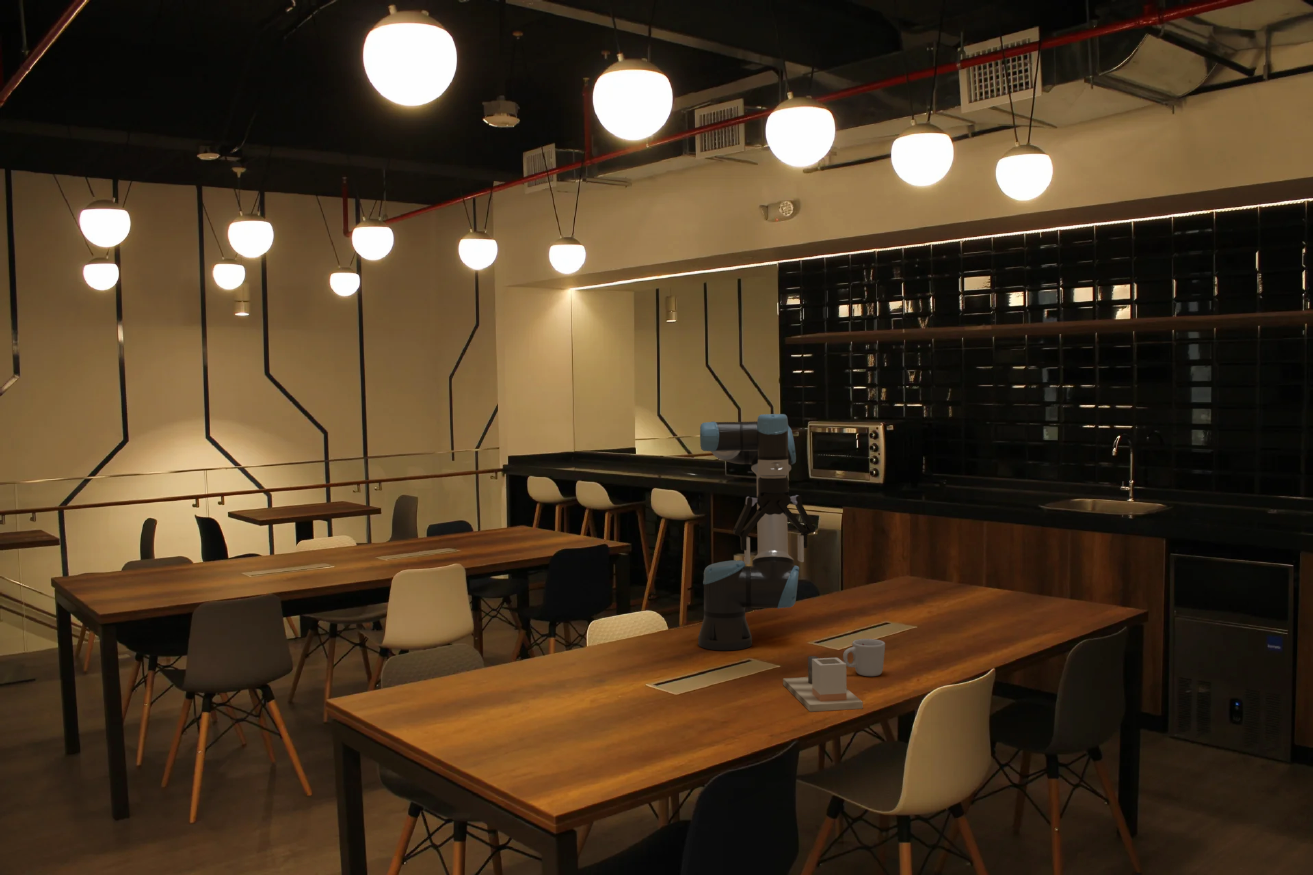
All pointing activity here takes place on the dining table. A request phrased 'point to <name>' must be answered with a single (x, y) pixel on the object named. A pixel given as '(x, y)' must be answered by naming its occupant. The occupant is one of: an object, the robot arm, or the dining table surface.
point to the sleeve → (829, 679)
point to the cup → (866, 656)
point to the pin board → (804, 694)
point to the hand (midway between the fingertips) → (774, 562)
